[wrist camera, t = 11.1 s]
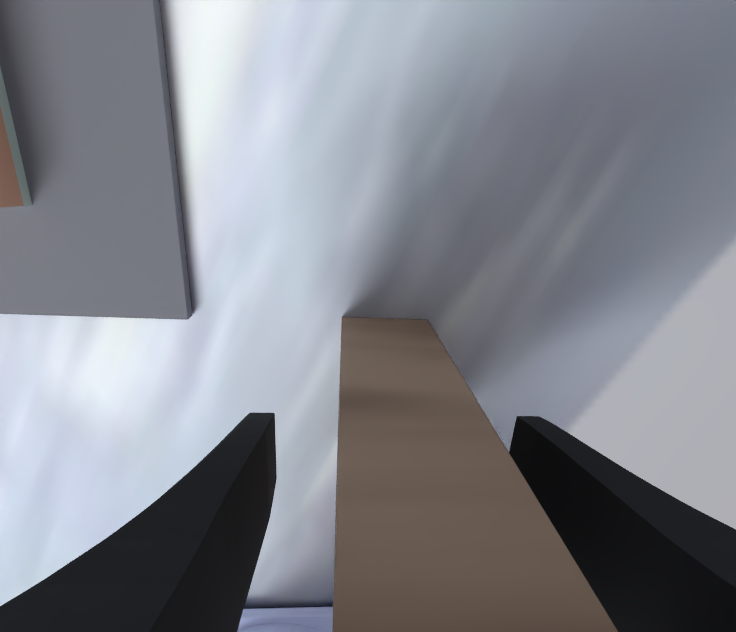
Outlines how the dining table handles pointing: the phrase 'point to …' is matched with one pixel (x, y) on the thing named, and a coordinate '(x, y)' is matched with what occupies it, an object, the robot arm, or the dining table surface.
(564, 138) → the dining table surface
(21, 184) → the tile
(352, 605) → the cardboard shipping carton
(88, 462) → the dining table surface
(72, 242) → the mat
